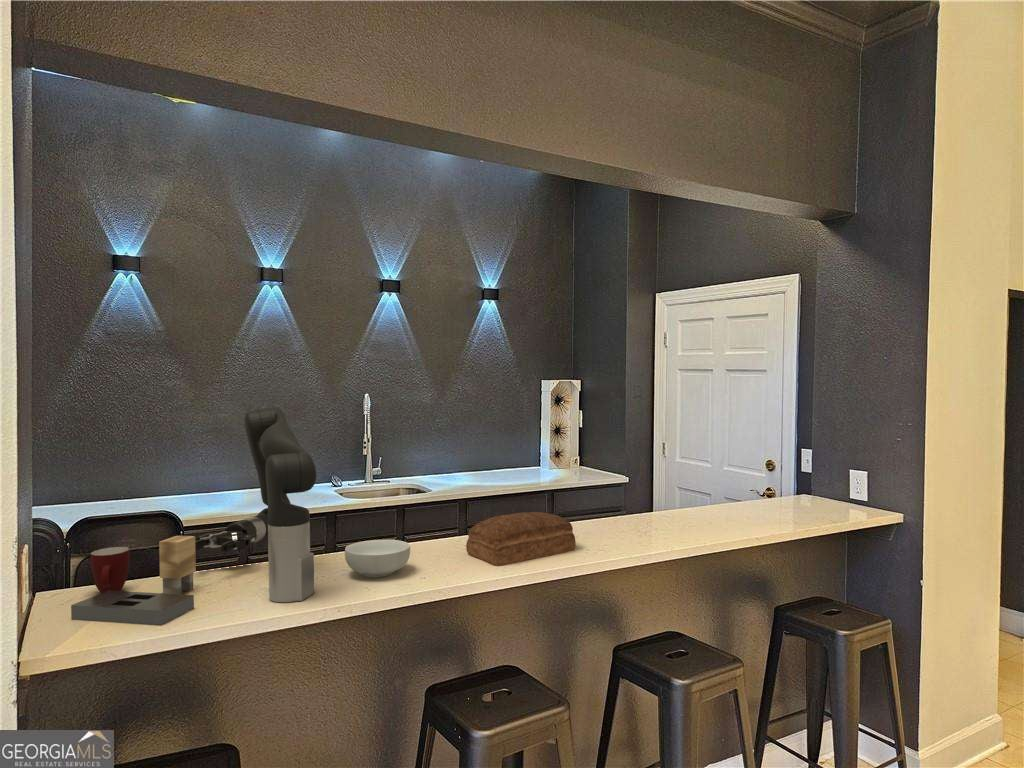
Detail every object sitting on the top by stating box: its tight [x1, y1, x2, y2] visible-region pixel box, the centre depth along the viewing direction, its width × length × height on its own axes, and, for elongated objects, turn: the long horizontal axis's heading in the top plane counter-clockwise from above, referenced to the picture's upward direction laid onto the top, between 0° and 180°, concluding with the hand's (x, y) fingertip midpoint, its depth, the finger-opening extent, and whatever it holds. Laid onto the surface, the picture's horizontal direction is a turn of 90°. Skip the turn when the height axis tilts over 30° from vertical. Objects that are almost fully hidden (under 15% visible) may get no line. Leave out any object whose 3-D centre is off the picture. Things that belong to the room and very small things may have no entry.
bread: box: [465, 511, 577, 567], centre depth 190 cm, size 17×29×11 cm, turn 125°
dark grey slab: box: [70, 590, 195, 626], centre depth 143 cm, size 22×10×3 cm, turn 79°
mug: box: [90, 546, 131, 594], centre depth 157 cm, size 10×8×10 cm
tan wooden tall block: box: [158, 535, 197, 595], centre depth 157 cm, size 5×6×13 cm
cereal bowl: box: [344, 539, 411, 578], centre depth 172 cm, size 17×17×7 cm
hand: (207, 547), depth 168 cm, fingers open, 8 cm apart
